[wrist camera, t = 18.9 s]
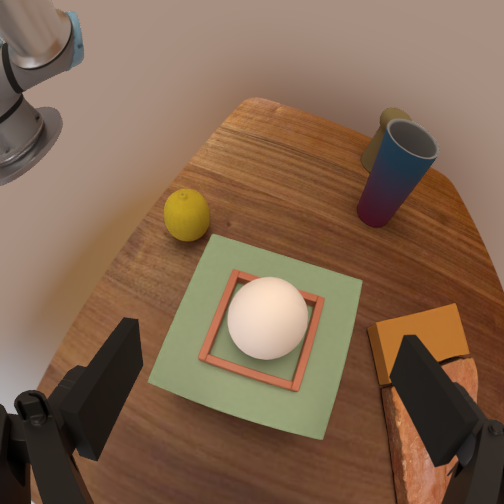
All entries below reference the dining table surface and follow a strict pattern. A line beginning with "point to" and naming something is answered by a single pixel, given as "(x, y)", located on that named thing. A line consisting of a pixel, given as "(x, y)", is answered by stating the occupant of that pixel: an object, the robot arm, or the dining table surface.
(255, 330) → the egg
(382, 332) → the salmon fillet board
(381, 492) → the dining table surface
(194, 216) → the lemon
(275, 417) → the green side table
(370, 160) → the cork
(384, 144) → the cup
